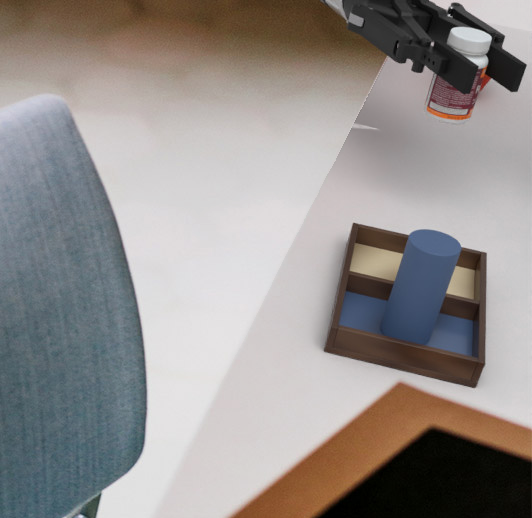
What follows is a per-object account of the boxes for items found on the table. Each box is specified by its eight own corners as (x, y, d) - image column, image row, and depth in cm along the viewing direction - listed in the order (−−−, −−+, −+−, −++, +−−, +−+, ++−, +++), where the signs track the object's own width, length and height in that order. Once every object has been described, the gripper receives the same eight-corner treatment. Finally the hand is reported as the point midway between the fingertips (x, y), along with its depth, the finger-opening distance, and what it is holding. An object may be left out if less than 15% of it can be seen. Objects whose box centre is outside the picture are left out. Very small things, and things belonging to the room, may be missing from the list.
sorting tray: (478, 275, 116) (487, 252, 114) (475, 388, 100) (485, 363, 99) (346, 245, 118) (353, 222, 116) (323, 351, 102) (331, 326, 101)
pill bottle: (476, 127, 119) (503, 44, 114) (430, 124, 119) (456, 40, 113) (460, 107, 123) (486, 26, 118) (416, 104, 122) (440, 23, 117)
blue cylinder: (431, 325, 106) (462, 236, 100) (428, 351, 103) (461, 260, 97) (382, 313, 107) (410, 224, 101) (378, 338, 103) (407, 248, 98)
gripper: (431, 26, 135) (557, 113, 118) (292, 29, 129) (404, 120, 113) (451, -42, 130) (585, 38, 114) (308, -42, 125) (427, 42, 108)
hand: (495, 79), depth 113 cm, fingers closed on pill bottle, 5 cm apart
